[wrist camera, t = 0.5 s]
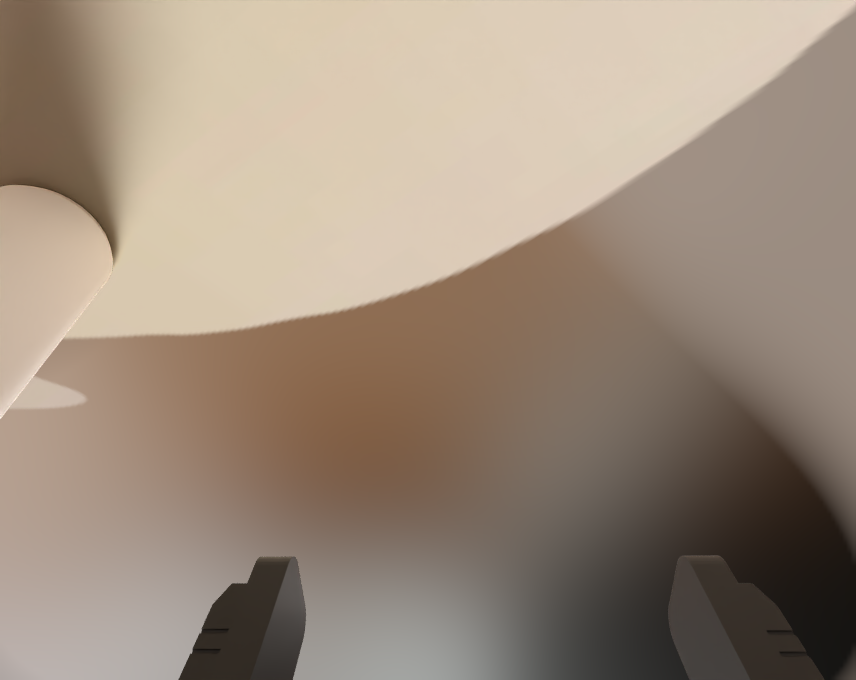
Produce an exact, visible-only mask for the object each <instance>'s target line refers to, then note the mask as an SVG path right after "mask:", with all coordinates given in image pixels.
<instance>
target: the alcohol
mask: <svg viewBox="0 0 856 680" xmlns="http://www.w3.org/2000/svg"><path fill="white" fill-rule="evenodd" d="M112 269H113V257H112V251H111V248H110V244H109V241H108V239H107V236H106V234H105V232H104V231H103V229H102V227H101V226H100V224H99V223H98V222H97V221H96V220H95V219H94V217H93V216H92V215H91V214H90V213H88V212H87V211H86V210H85V209H84V208H83V207H82V206H80V205H79V204H77V203H76V202H74V201H73V200H71V199H69V198H67V197H65V196H63V195H61V194H60V193H57V192H54V191H51V190H48V189H44V188H39V187H34V186H26V185H7V186H1V187H0V419H1V417H2V416H3V415H4V414H5V412H6V411H7V410H8V408H9V407H10V406H11V405H12V403H13V402H14V401H15V399H16V398H17V397H18V396H19V394H20V393H21V392H22V390H23V389H24V388H25V387H26V385H27V384H28V383H29V381H30V380H31V379H32V377H33V376H34V375H35V373H36V372H37V371H38V370H39V368H40V367H41V366H42V364H43V363H44V362H45V360H46V359H47V358H48V357H49V355H50V354H51V353H52V352H53V350H54V349H55V348H56V346H57V345H58V344H59V343H60V341H61V340H62V339H63V337H64V336H65V335H66V334H67V332H68V331H69V330H70V328H71V327H72V326H73V325H74V323H75V322H76V321H77V319H78V318H79V317H80V315H81V314H82V313H83V312H84V310H85V309H86V308H87V306H88V305H89V304H90V303H91V301H92V300H93V299H94V297H95V296H96V295H97V294H98V292H99V291H100V290H101V288H102V287H103V286H104V284H105V283H106V282H107V281H108V279H109V278H110V275H111V273H112Z"/></svg>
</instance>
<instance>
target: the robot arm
mask: <svg viewBox="0 0 856 680" xmlns="http://www.w3.org/2000/svg"><path fill="white" fill-rule="evenodd" d="M668 616H669V625H670V630H671V634H672V637H673V640H674V643H675V646H676V648H677V650H678V653H679V655H680V658H681V660H682V663H683V665H684V667H685V670H686V672H687V675H688V677H689V679H690V680H824V678H823V677H822V675H821V674H820V672H819V671H818V669H817V667H816V666H815V664H814V663H813V661H812V660H811V658H810V657H808V656H807V654H806V650H805V649H804V647H803V646H802V644H801V642H800V641H799V639H798V638H797V636H796V635H794V634H793V630H792V628H791V627H790V625H789V624H788V622H787V621H786V619H785V617H784V616H783V614H782V613H781V611H780V610H779V608H778V607H777V605H776V604H775V603H774V602H772V601H771V600H770V599H769V598H768V597H767V596H766V595H765V594H763V593H762V592H761V591H760V590H759V589H758V588H757V587H756V586H754V585H753V584H752V583H738V582H737V580H736V579H735V577H734V575H733V574H732V572H731V570H730V569H729V567H728V565H727V564H726V562H725V560H724V559H723V558H722V557H720V556H680V557H679V559H678V562H677V567H676V572H675V577H674V582H673V588H672V593H671V598H670V603H669V610H668ZM305 621H306V609H305V602H304V596H303V590H302V585H301V580H300V574H299V568H298V562H297V559H296V558H295V557H259V558H258V560H257V561H256V563H255V565H254V568H253V571H252V573H251V575H250V578H249V580H248V583H247V584H231V585H230V586H229V587H228V588H227V590H226V591H225V592H224V593H223V594H222V595H221V596H220V597H219V598H218V599H217V600H216V602H215V603H214V604H213V605H212V607H211V609H210V612H209V614H208V616H207V618H206V621H205V623H204V625H203V627H202V632H201V634H199V636H198V638H197V640H196V642H195V645H194V647H193V652H192V654H190V656H189V658H188V660H187V662H186V665H185V667H184V669H183V671H182V673H181V676H180V678H179V680H293V676H294V672H295V668H296V664H297V660H298V657H299V653H300V649H301V645H302V642H303V637H304V631H305Z"/></svg>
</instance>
